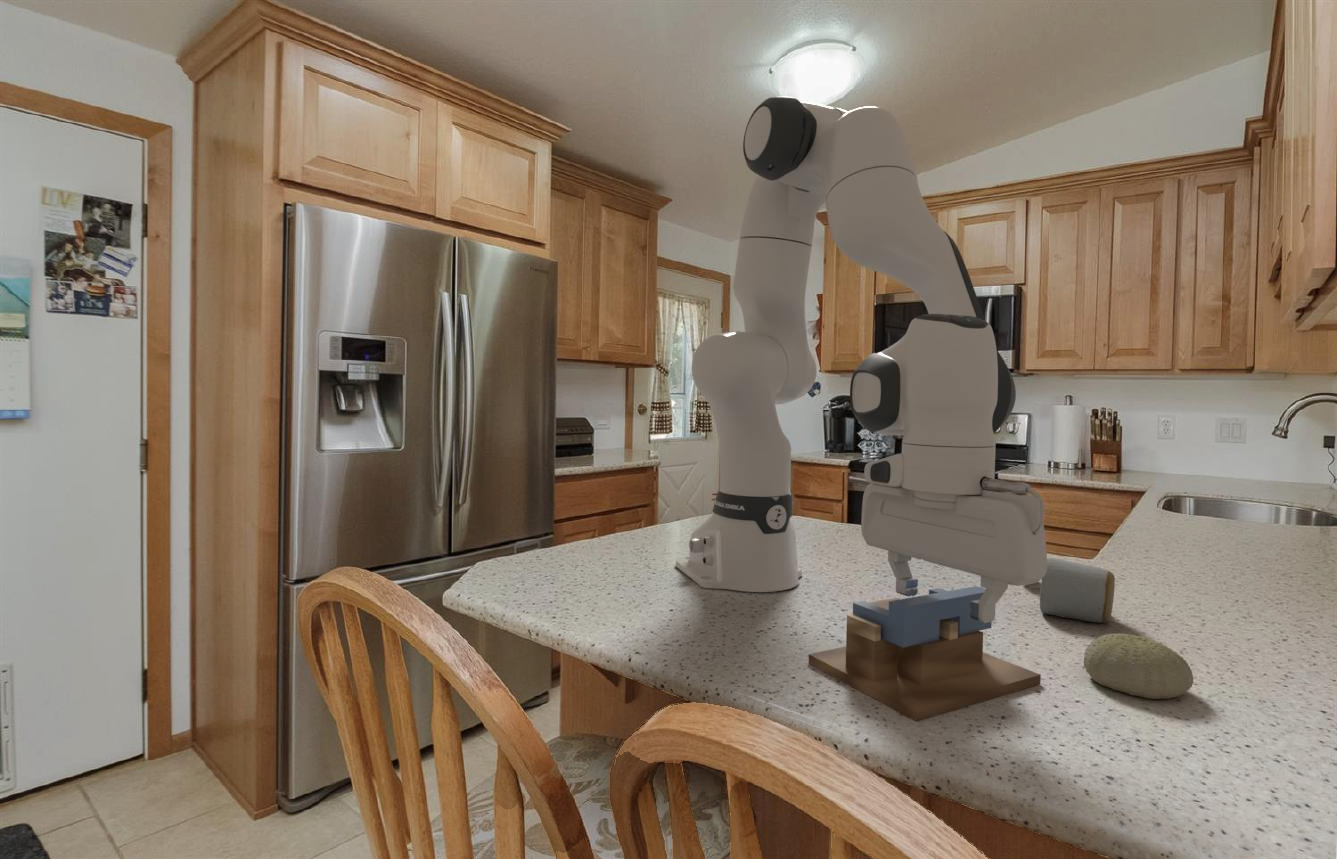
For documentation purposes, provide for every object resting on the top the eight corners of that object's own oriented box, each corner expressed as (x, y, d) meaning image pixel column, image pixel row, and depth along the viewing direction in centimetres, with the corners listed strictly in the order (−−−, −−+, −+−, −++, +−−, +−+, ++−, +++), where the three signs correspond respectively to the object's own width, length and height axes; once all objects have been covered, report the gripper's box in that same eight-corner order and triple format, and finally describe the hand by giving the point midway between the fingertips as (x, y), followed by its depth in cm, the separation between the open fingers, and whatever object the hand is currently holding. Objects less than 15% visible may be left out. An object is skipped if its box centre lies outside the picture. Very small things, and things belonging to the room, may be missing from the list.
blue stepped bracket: (852, 625, 73) (853, 588, 72) (937, 609, 79) (938, 575, 79) (903, 647, 66) (904, 607, 66) (991, 627, 73) (992, 590, 72)
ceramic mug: (1110, 631, 87) (1113, 571, 87) (1038, 618, 92) (1040, 561, 91) (1115, 612, 96) (1117, 557, 95) (1048, 601, 100) (1050, 549, 100)
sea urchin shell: (1163, 695, 64) (1106, 617, 69) (1103, 727, 69) (1054, 653, 74) (1223, 680, 67) (1165, 608, 72) (1161, 712, 73) (1111, 642, 78)
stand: (808, 663, 75) (809, 603, 75) (924, 637, 84) (925, 584, 83) (916, 720, 62) (918, 649, 62) (1040, 684, 70) (1042, 620, 70)
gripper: (1065, 483, 62) (1059, 633, 63) (894, 462, 80) (890, 579, 81) (1021, 486, 59) (1015, 644, 60) (853, 464, 77) (850, 585, 78)
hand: (942, 606), depth 70 cm, fingers open, 8 cm apart
